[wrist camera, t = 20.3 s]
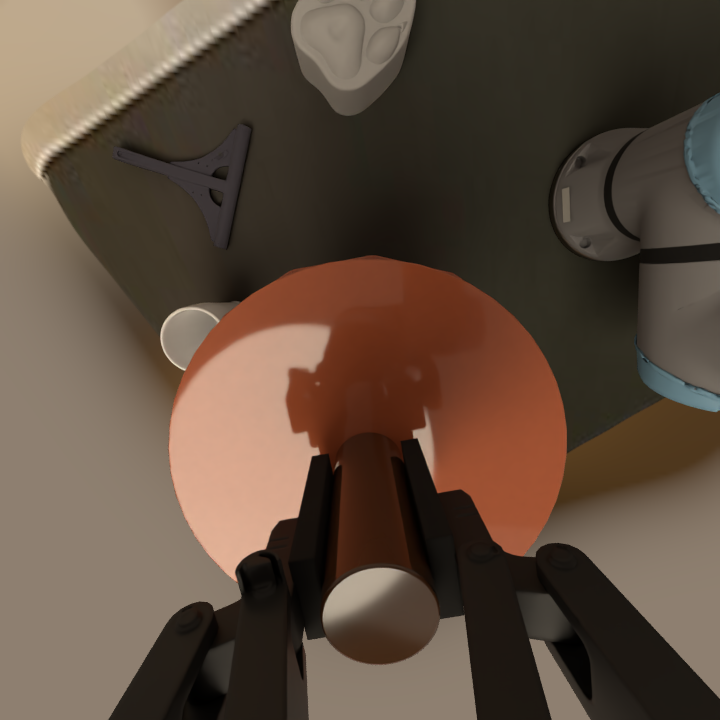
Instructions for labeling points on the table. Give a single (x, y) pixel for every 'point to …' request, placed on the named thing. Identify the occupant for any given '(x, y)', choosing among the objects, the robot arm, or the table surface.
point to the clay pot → (366, 433)
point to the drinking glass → (190, 329)
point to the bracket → (205, 179)
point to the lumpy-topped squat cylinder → (351, 47)
